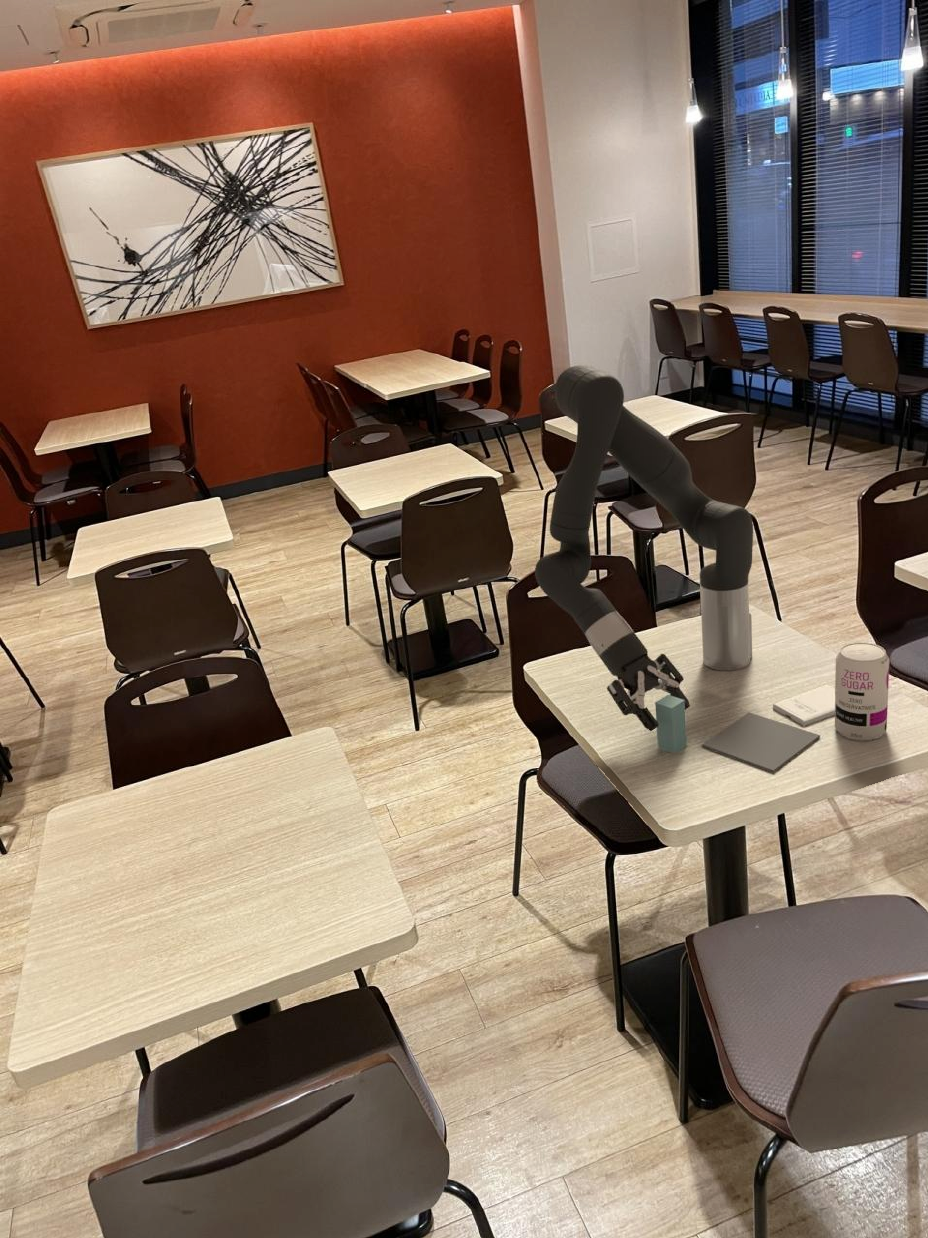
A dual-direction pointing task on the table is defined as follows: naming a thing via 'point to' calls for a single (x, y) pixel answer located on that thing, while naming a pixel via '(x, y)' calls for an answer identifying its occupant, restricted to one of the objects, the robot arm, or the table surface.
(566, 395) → the robot arm
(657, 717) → the teal block
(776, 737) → the gray mat
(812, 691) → the external hard drive
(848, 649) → the supplement can
